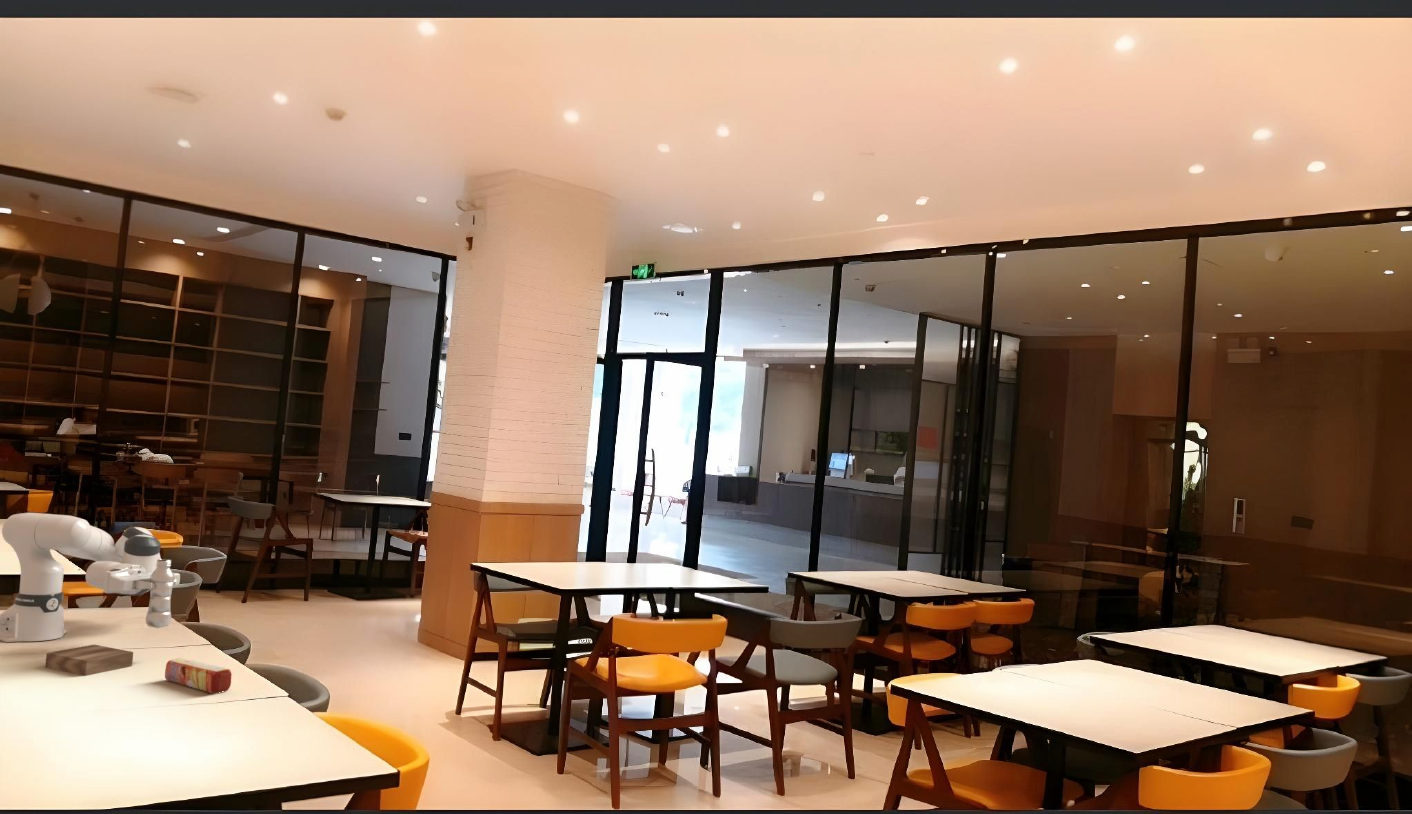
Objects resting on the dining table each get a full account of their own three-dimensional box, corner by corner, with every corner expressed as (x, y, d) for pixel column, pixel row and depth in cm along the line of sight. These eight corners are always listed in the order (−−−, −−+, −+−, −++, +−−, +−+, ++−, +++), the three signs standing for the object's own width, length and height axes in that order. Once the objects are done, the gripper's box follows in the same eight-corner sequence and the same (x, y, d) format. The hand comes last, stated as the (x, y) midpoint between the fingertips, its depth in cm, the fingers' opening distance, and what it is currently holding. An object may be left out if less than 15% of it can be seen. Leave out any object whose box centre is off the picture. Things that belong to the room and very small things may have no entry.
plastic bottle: (160, 630, 276) (167, 562, 277) (139, 628, 277) (146, 560, 278) (175, 626, 282) (182, 559, 283) (154, 624, 283) (161, 557, 284)
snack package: (161, 682, 258) (163, 657, 258) (184, 677, 264) (186, 653, 264) (209, 696, 248) (211, 670, 248) (232, 691, 253) (234, 666, 254)
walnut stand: (45, 667, 264) (46, 652, 264) (92, 658, 277) (94, 644, 277) (85, 675, 258) (86, 660, 258) (132, 665, 271) (133, 651, 271)
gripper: (159, 585, 294) (192, 591, 289) (98, 593, 275) (132, 599, 270) (161, 565, 294) (194, 570, 290) (100, 571, 275) (134, 577, 271)
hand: (164, 584), depth 280 cm, fingers closed on plastic bottle, 6 cm apart
